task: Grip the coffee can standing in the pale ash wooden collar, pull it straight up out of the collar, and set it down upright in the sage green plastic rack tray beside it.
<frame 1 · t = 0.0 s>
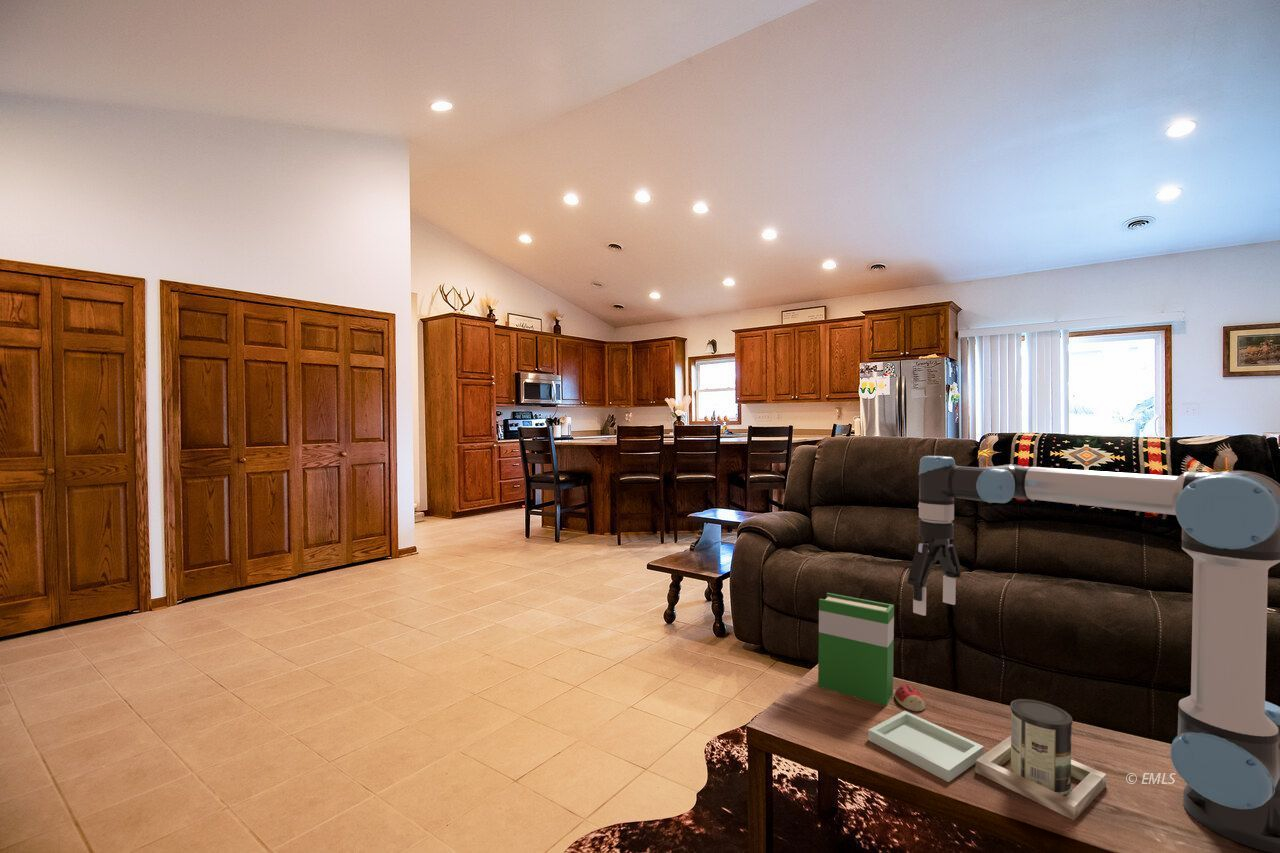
hand: (934, 608, 135), 28 cm above the table, tool pointing down, fingers open, 13 cm apart
rack tray: (924, 748, 125), on the table
coffee can: (1039, 780, 114), resting in wooden collar
red apple half: (909, 704, 145), on the table
hardback book: (855, 691, 152), on the table
wooden collar: (1039, 779, 114), on the table
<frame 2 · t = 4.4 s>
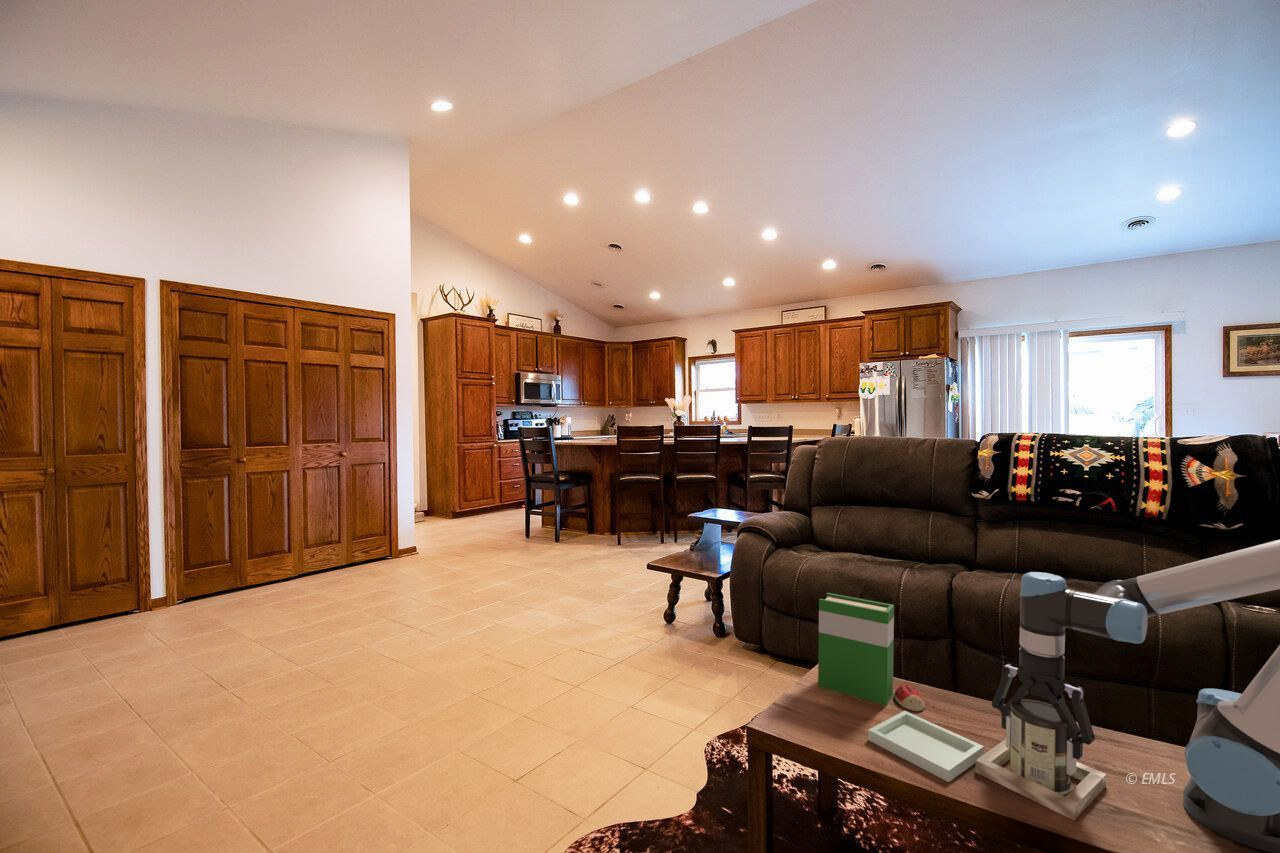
hand: (1039, 758, 114), 4 cm above the table, tool pointing down, fingers closed on coffee can, 10 cm apart
coffee can: (1039, 780, 114), resting in wooden collar, touching gripper
everything else where it was.
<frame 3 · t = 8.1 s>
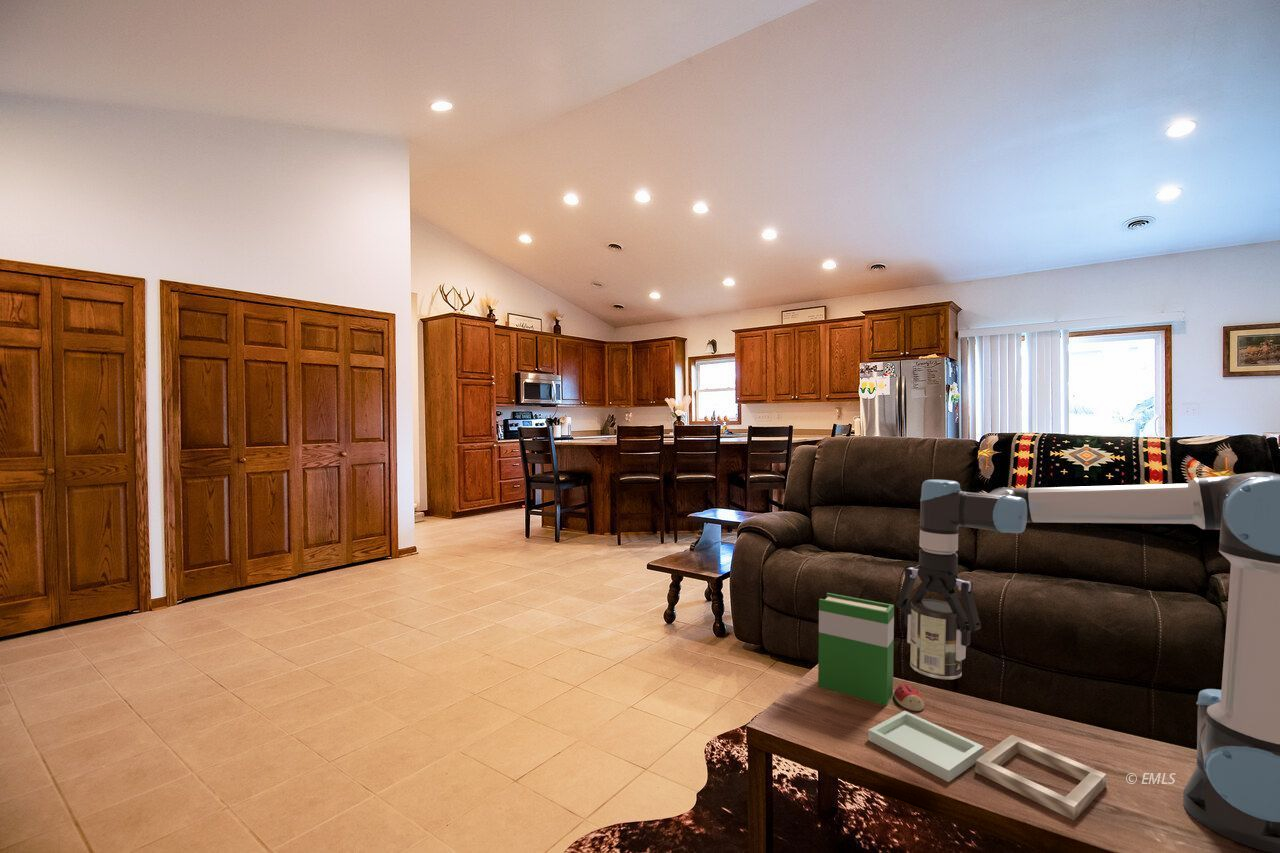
hand: (935, 650, 124), 22 cm above the table, tool pointing down, fingers closed on coffee can, 10 cm apart
coffee can: (934, 670, 124), point 18 cm above the table, touching gripper
everything else where it was.
when the fingers open (6 cm above the table, at t = 12.2 s): coffee can drops 1 cm, resting on rack tray.
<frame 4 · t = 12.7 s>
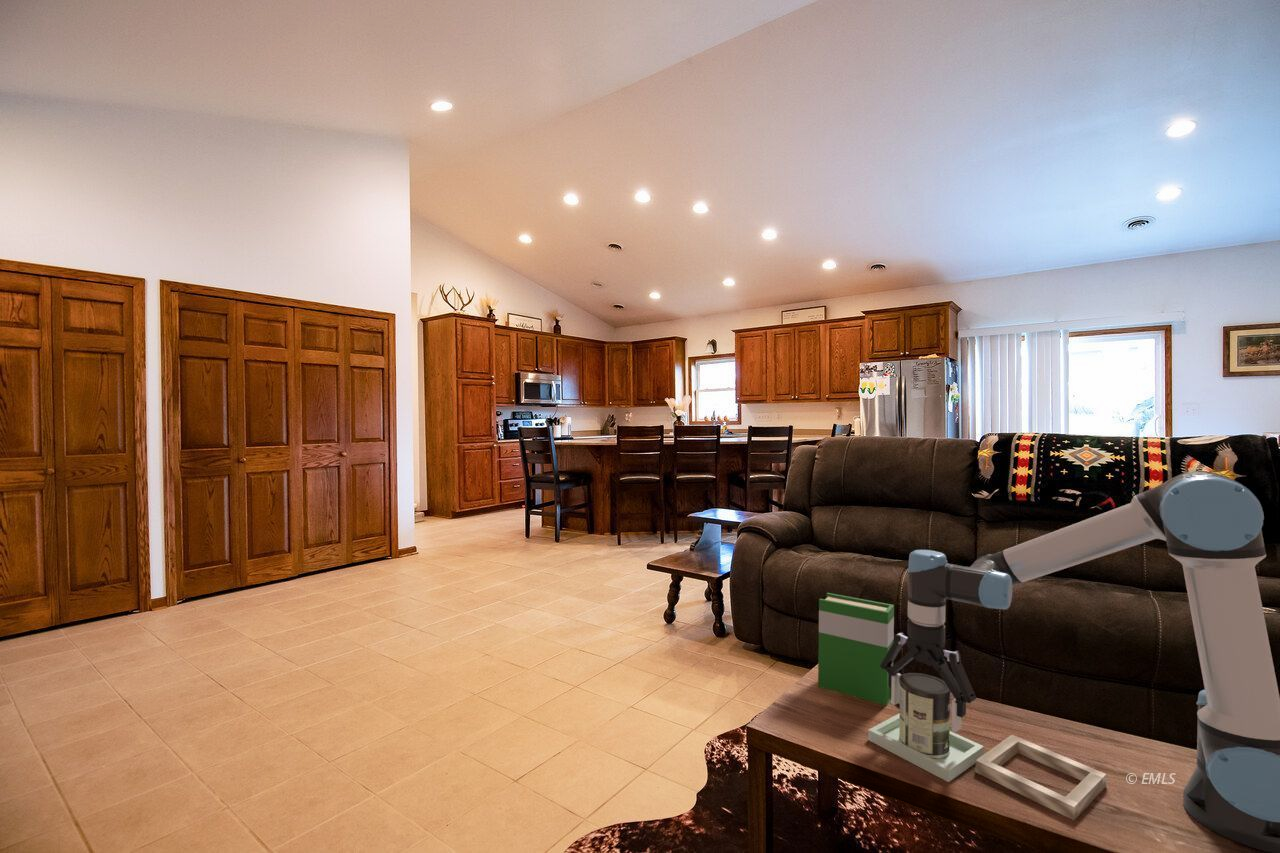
hand: (924, 715, 125), 7 cm above the table, tool pointing down, fingers open, 13 cm apart
coffee can: (923, 746, 125), resting on rack tray
everything else where it was.
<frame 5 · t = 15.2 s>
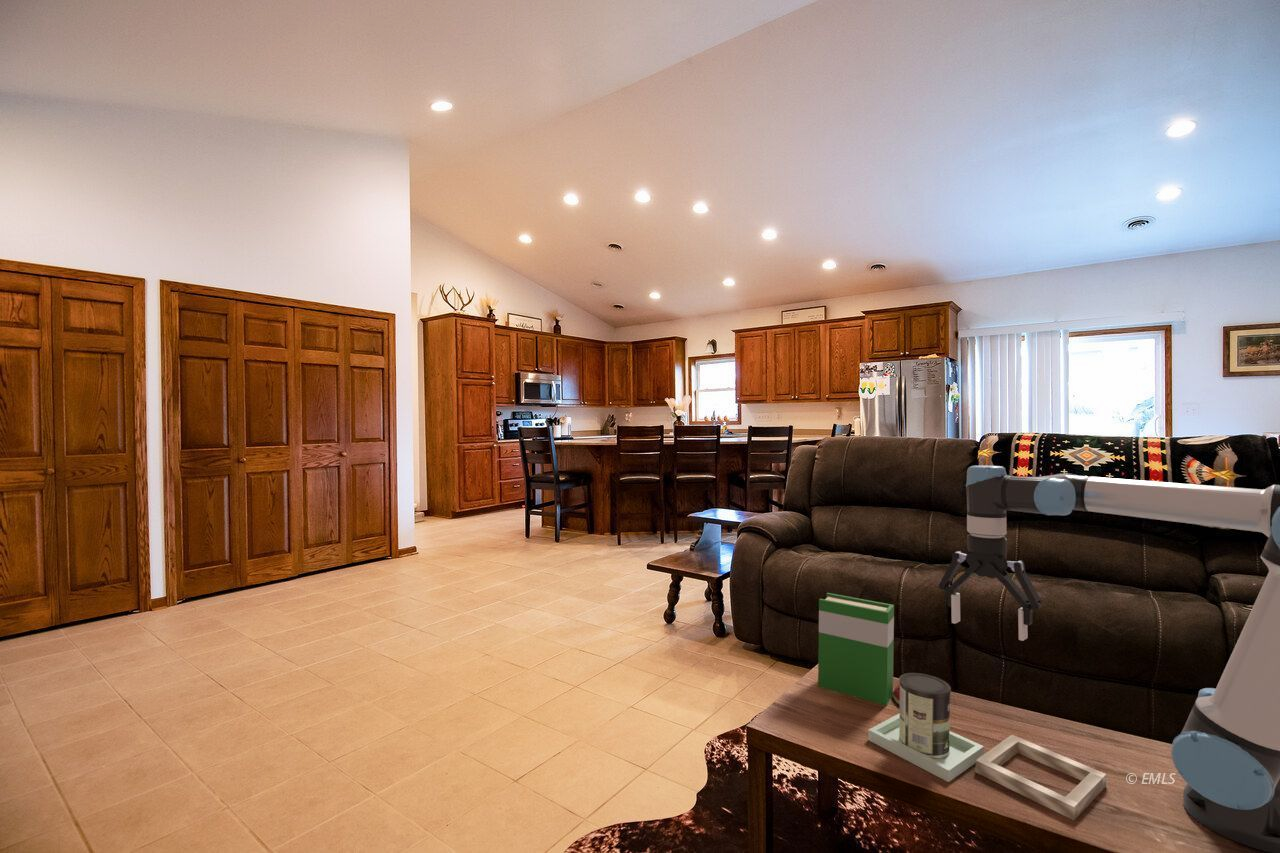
hand: (988, 630, 125), 27 cm above the table, tool pointing down, fingers open, 13 cm apart
nothing on the table moved.
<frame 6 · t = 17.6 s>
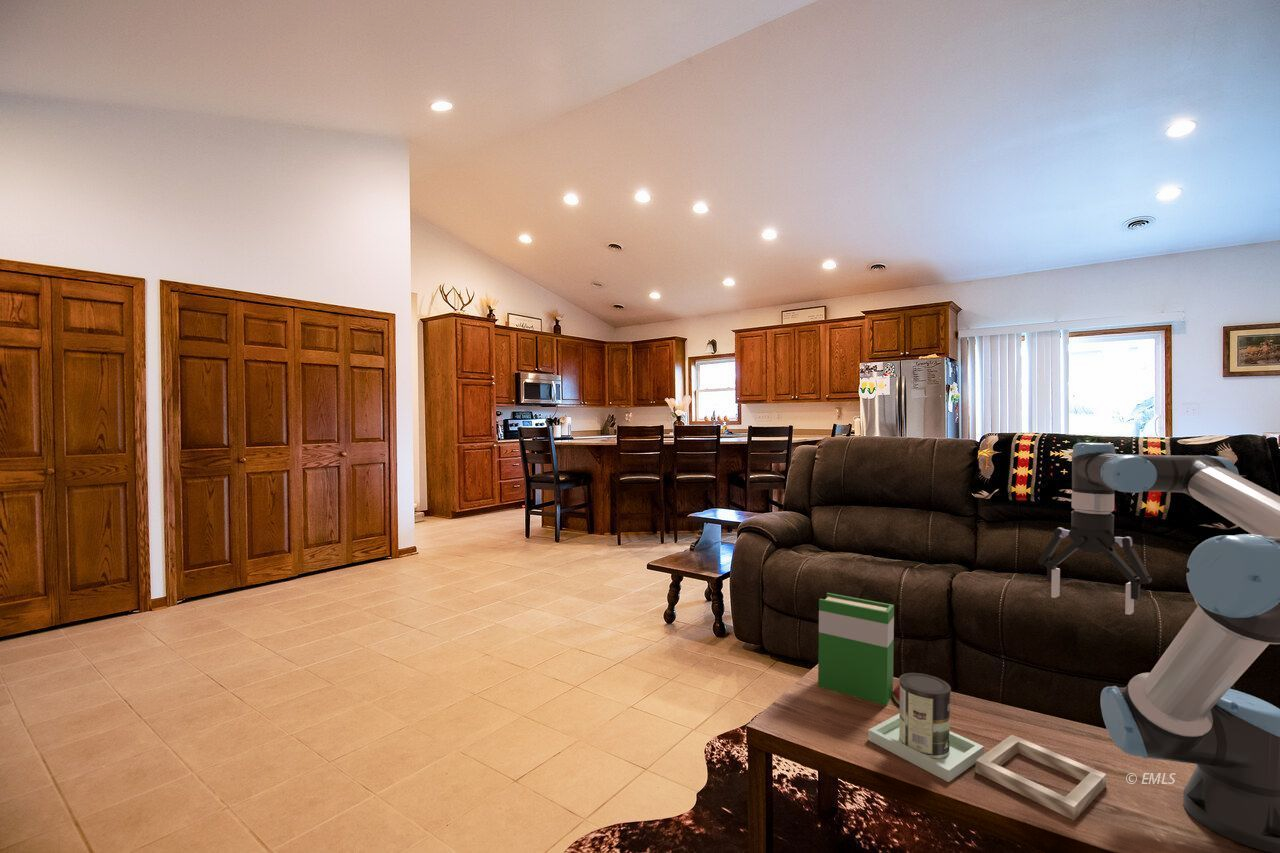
hand: (1090, 604, 127), 32 cm above the table, tool pointing down, fingers open, 13 cm apart
nothing on the table moved.
at the end: coffee can inside the target area on the rack tray (0.2 cm from its centre), point 0.4 cm above the rack tray's base; coffee can tilted 0°; the gripper is holding nothing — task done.
